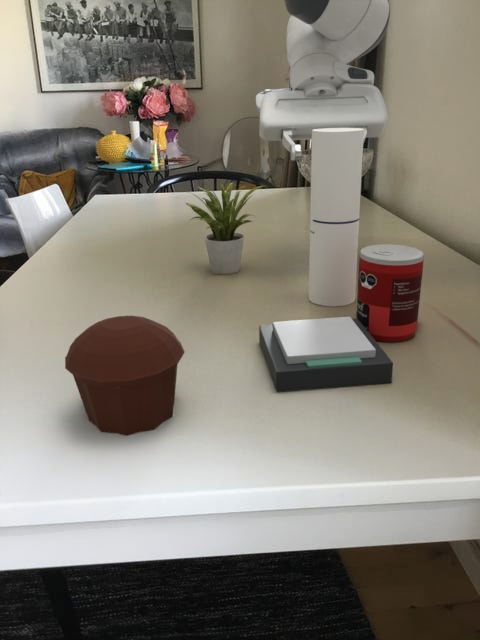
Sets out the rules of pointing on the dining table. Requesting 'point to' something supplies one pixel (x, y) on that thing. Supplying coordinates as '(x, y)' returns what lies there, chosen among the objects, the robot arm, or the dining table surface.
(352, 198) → the cylindrical container
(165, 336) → the muffin
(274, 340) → the kitchen scale
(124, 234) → the dining table surface
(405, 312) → the canned food
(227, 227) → the house plant
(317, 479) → the dining table surface
